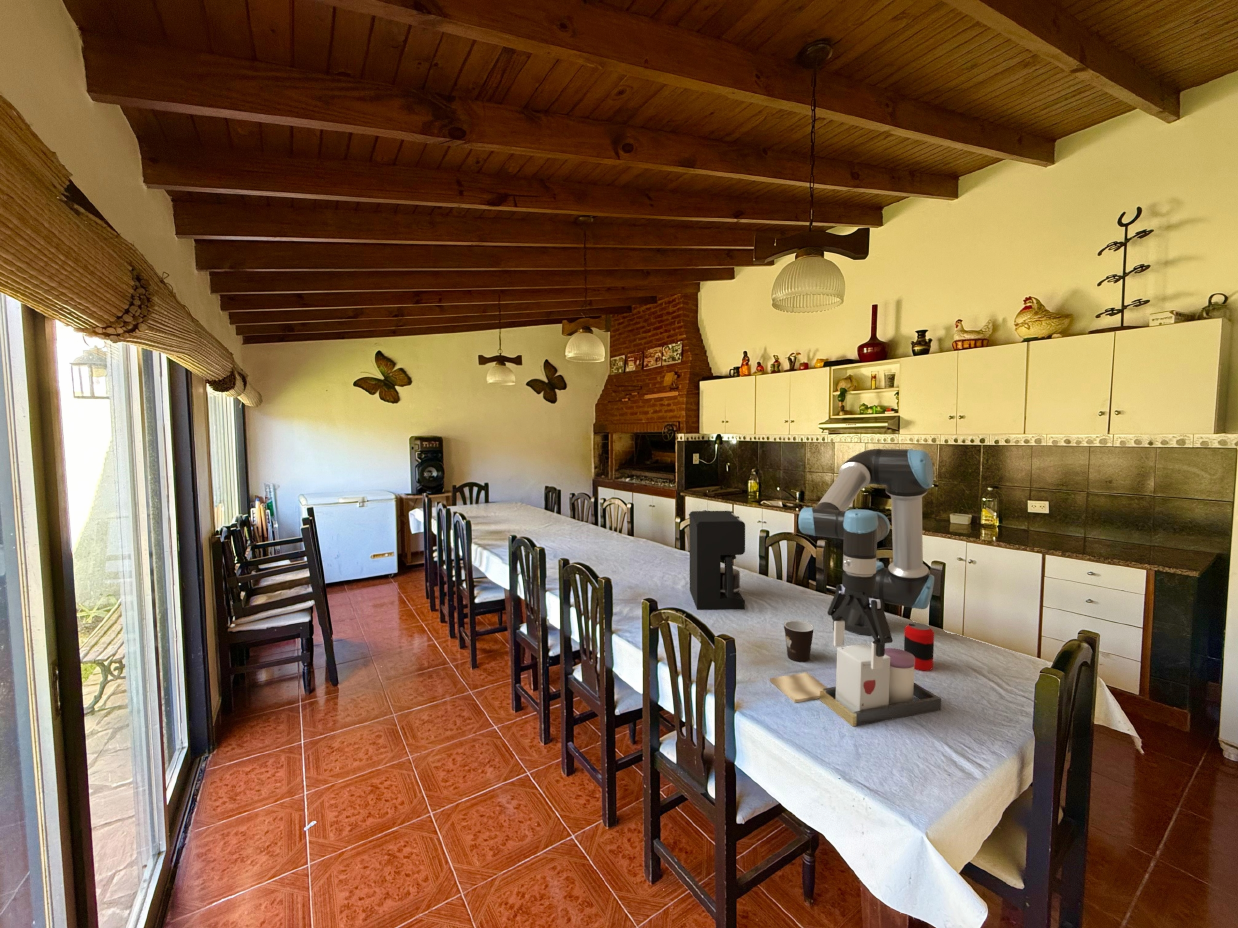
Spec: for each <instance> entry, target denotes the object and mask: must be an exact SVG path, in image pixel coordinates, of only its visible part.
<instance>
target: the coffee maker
mask: <svg viewBox="0 0 1238 928" xmlns="http://www.w3.org/2000/svg"><path fill="white" fill-rule="evenodd" d="M688 517H689V592H690V595H691V597H692V600H693V602H694V607H695V608H696V610H697V611H712V610H714V611H715V610H716V611H718V610H720V611H721V610H724V611H725V610H726V611H728V610H737V611H738V610H739V611H740V610H742V611H743V610H745V607H746V601H745V598H744V597H743V596H742V593H741V592H740V589H741V571H740V569H737V568H734V564H733V563H734V562H733V560H736V559H737V556H742V555H744V554H745V552H746V523H745V522H744V521H743V520H742V519H741V518H740V516H736V514H735V513H734V511H732V510H692V511H690V512H689V514H688ZM721 561H724V566H722V567H721ZM737 563H738V564H739V562H737Z"/></svg>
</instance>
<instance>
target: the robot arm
mask: <svg viewBox="0 0 1238 928" xmlns="http://www.w3.org/2000/svg"><path fill="white" fill-rule="evenodd" d="M869 485H872V486H873V485H875V486H876V485H877V486H885V493H886V494H887V495H889V496H890V500H891V501H890V502H891V505H890V506H891V522H890V521H889V519H888V518H887V516H886V515H884V514H883V513H881V512H879V511H873V510H869V509H856V508H855V509H849V508H850V507H851V505H852V503H853V502H854V501H855V499H856V497H857V496H858V494H859V492H861V490H863V489H864V488H866V487H867V486H869ZM933 485H934V467H933V462H932V459H931V456H930V454H929V452H927V451H926V450H922V449H921V450H920V449H913V448H911V449H910V448H909V449H907V448H894V449H893V448H871V449H866V450H863V451H860V452H859V453H856V454H854V455H853V456H852V457H850V458H847V460H846V461H844V462H843V464H842V465H841V466H840V468H839V470H838V476H837V477H836V479H835V480H834V482H833V483H831V485H830V487H829V488H828V490H827V491H826V492H825V493H824V495H823V496H822V498H821V499H820V501H819V502H818V503H817V504H816V506H814V507H811V506H809V507H803V508H801V510H800V512H799V515H798V529H799V531H800V532H801V533H802V534H804V535H809V536H813V537H816V536H817V537H824V538H825V537H826V538H834V539H840V540H843V548H842V549H843V552H842V553H843V554H842V570H843V572H842V581H841V582H842V584H836V587H835V593H834V595H833V598H832V601H831V602H830V605H829V608H828V610H827V615H828V616H830V617H831V619H832V623H833V624H832V631H833V646H834V647H844V646H845V634H846V633H845V630H846V631H848V632H851V633H853V634H859V635H864V636H871V637H872V639H873V640H872V641H871V645H870V646H871V668H872V669H880V668H883V656H884V655H885V648H886V644H889V643H890V644H892V643H893V637H892V633H891V629H890V627H889V623H888V619H887V616H886V614H885V611H884V610H885V609H884V603H886V604H891V605H896V606H900V607H901V606H902V607H906V608H911V609H917V610H926V609H927V608H928V607H929V605H930V603H931V599H932V596H933V590H934V585H935V575H932V574H931V573H930V574H929V567H928V566H926V564H924V562H923V561H924V559H923V558H924V555H923V554H924V553H923V552H924V551H923V548H924V547H923V543H924V542H923V497H924V496H925V495H927V493H928V489H931V488H932V487H933ZM848 509H849V510H848ZM890 523H891V524H890ZM890 529H891V531H892V532H891V533H892V534H891V537H892V562H891V563H889V565H888V567H885V565H884V563H883V561H877V550H878V548H877V547H878V542H880V541H882V540H884V539H885V538H886V537H887V536H888V534H889V532H890Z"/></svg>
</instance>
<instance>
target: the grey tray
mask: <svg viewBox="0 0 1238 928" xmlns="http://www.w3.org/2000/svg"><path fill="white" fill-rule="evenodd" d="M913 697H915V698H917V700H913V701H910V702H905V703H899V704H894V705H888V706H883V707H877V708H872V709H866V710H861V711H855V712H854V714H853V713H852V712H851V711H849V710H848V709H847V708H846V707H844V706H843V705H842V704H840V703H839V702H838V701H836V686H830V687H827V688H824V689H823V691H820V699H819V701H820V702H822V703H823V704H824V705H825V706H826V707H828V709H831V710H832V712H834V713H835V714H836V715H837V716H839V717H840V718H841V719H843V720H844V721H845V722H846V723H847V724H849V725H850V726H852V727H858V726H864V725H869V724H874V723H879V722H880V723H881V722H885V721H889V720H895V719H901V718H905V717H910V716H916V715H921V714H927V713H932V712H937V711H941V710H942V697H940V696H938V695H937V694H934V693H933V692H932V691H929V690H928V689H926V688H925V687H923V686H921V685H920V684H918V683H916V682H914V691H913Z"/></svg>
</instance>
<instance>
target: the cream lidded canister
mask: <svg viewBox="0 0 1238 928" xmlns="http://www.w3.org/2000/svg"><path fill="white" fill-rule="evenodd" d="M885 655H887V656H889V657H890V678H889V705H894V704H899V703H905V702H910V701H914V696H913V691H914V683H915V669H914V665H915V657H914V655H912V654H911V653H909V652H907V651H904V649H900V648H893V647H887V648H886V647H885Z"/></svg>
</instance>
